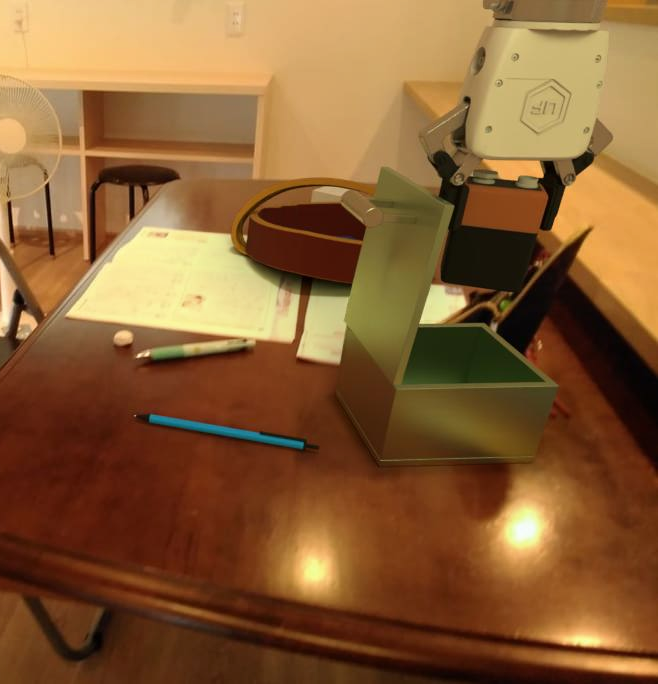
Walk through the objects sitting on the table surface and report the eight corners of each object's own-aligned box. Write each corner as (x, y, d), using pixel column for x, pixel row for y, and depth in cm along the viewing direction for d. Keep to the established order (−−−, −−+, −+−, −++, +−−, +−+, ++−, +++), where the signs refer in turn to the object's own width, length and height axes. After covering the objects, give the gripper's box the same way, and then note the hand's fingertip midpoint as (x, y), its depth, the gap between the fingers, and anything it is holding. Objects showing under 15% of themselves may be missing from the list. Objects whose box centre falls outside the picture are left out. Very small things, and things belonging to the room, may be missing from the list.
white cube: (349, 219, 140) (354, 190, 137) (335, 226, 136) (339, 196, 133) (323, 213, 143) (327, 185, 141) (308, 219, 139) (312, 190, 137)
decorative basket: (450, 280, 117) (473, 191, 112) (402, 311, 94) (427, 201, 89) (270, 242, 135) (283, 163, 130) (193, 260, 112) (204, 166, 107)
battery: (439, 268, 67) (463, 164, 62) (516, 278, 65) (546, 172, 60) (439, 283, 63) (464, 175, 59) (520, 295, 61) (553, 183, 56)
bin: (465, 391, 80) (484, 322, 76) (533, 462, 68) (559, 385, 64) (334, 393, 78) (346, 324, 74) (378, 467, 66) (396, 388, 62)
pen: (318, 454, 68) (319, 444, 67) (133, 421, 72) (133, 412, 72) (318, 448, 69) (320, 439, 68) (135, 417, 73) (135, 407, 72)
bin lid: (388, 166, 67) (333, 162, 66) (454, 205, 55) (387, 200, 54) (350, 320, 74) (300, 318, 74) (401, 384, 62) (341, 382, 62)
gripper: (465, 6, 49) (416, 240, 57) (691, 12, 51) (612, 239, 59) (420, 4, 56) (382, 214, 64) (621, 9, 58) (558, 214, 66)
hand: (492, 225), depth 61 cm, fingers closed on battery, 7 cm apart
